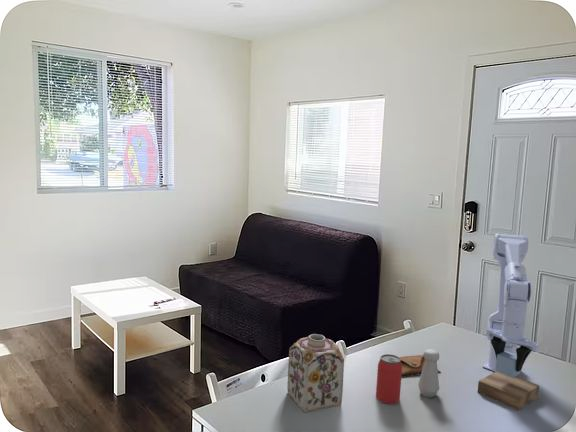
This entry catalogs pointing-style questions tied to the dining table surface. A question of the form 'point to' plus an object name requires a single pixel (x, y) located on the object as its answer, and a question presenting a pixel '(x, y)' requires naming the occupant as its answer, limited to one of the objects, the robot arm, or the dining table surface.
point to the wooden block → (508, 390)
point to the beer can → (389, 379)
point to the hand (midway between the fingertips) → (508, 366)
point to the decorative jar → (315, 373)
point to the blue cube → (507, 364)
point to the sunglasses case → (412, 365)
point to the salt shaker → (429, 374)
